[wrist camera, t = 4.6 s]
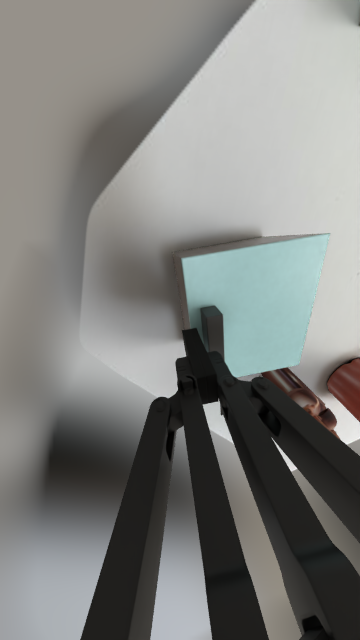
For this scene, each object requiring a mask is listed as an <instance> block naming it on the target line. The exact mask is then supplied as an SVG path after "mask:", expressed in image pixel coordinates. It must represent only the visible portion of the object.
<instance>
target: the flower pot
mask: <svg viewBox="0 0 360 640" xmlns="http://www.w3.org/2000/svg"><path fill="white" fill-rule="evenodd" d="M327 386H328V388H329V389H328V390H329V391H330V392H331V393H332V394H333V395H334V396H335V397H336V398H337V399H338V400H339V401H340V402H341V403H342V405H343V406H344V407H345V408H346V409H347V410H348V411H349V412H350V413H351V414H352V415H353V416H354V417H355V418H356V419H357V420H358V421H359V422H360V358H358V359H354V360H352V362H351V363H349V364H343V365H342V366H341V367H339V368H338V369H337V370H336V371H335V372H334V373H333V374H332V375H331V377H330V378H329V380H328V383H327Z"/></svg>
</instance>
